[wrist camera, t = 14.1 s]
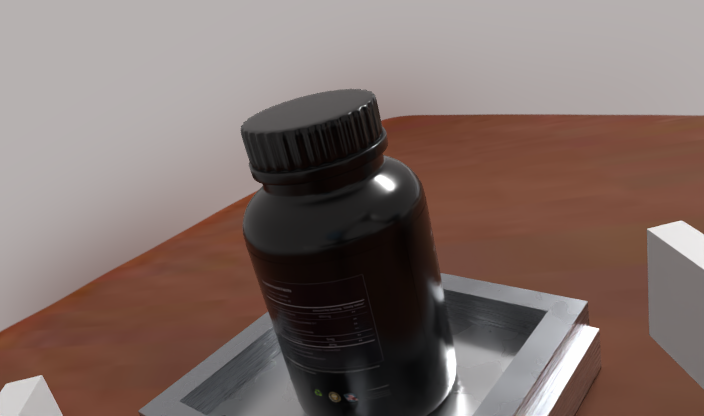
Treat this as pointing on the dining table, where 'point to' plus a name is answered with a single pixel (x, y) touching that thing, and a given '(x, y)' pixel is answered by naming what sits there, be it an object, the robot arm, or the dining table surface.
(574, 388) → the shadow box frame
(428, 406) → the supplement bottle
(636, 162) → the dining table surface
